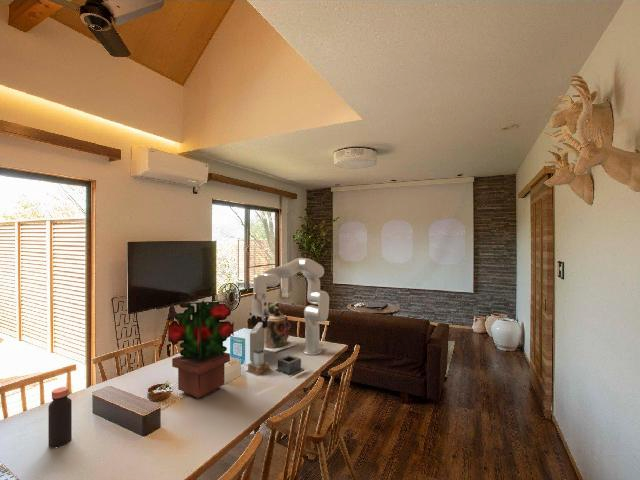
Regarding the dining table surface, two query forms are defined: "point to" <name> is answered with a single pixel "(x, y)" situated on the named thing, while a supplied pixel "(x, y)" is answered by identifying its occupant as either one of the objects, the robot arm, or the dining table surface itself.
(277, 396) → the dining table surface
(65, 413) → the bottle
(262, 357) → the plug
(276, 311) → the cookie jar
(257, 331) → the network device
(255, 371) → the brown square ashtray
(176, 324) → the potted plant
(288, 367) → the port block
